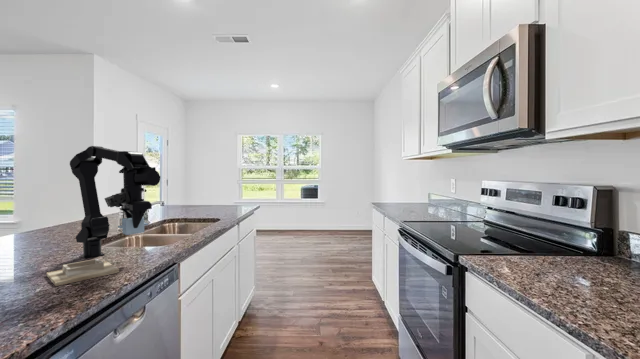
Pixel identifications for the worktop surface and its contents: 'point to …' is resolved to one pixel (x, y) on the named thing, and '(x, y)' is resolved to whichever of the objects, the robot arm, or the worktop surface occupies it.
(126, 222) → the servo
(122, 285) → the worktop surface
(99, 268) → the chassis pocket
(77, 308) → the worktop surface
